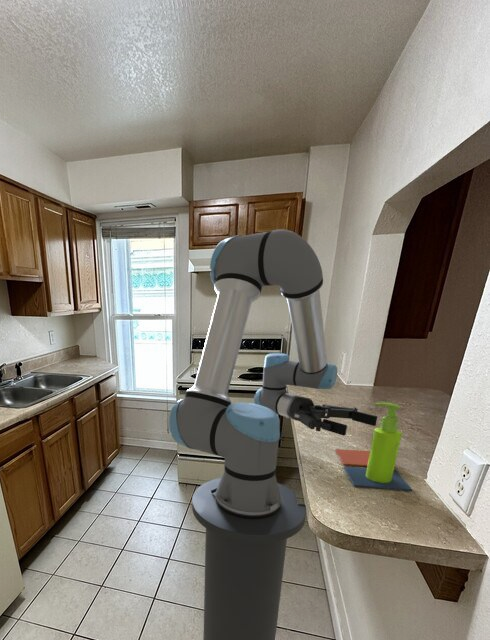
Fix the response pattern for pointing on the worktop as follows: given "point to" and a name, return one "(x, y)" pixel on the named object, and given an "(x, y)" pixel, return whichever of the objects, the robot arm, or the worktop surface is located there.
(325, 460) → the worktop surface
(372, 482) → the slate mat
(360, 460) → the terracotta mat
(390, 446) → the soap dispenser
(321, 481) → the worktop surface
